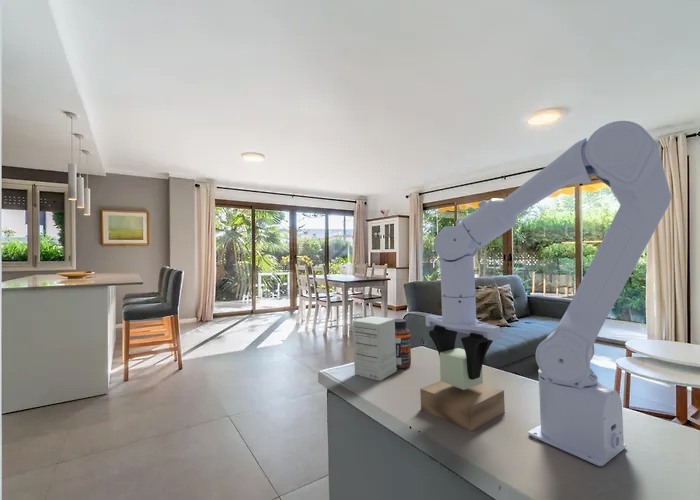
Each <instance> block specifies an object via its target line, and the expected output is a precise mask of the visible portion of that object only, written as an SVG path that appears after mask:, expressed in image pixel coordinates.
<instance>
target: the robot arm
mask: <svg viewBox="0 0 700 500" xmlns="http://www.w3.org/2000/svg"><path fill="white" fill-rule="evenodd" d="M592 175H594V177H596V178H597V179H598V180H600V181H601V182H602V183H603V184H605V185H606V186H608V187H609V188H610V191H611V193H612V194H613V196H614V197H615V198H616V200H617V202H618V204H619V206H618V207H619V208H617V209H618V210H617V212H616V213H615V215H614V216H613V220H612V221H611V223H610V225H609V227H608V230H607V231H606V233H605V235H604V236H603V239H602V241H601V243H600V245H599V247H598V248H597V250H596V253H595V254H594V256H593V258H592V260H591V262H590V264H589V266H588V268H587V270H586V272H585V274H584V275H583V277H582V280H581V282H580V283H579V285H578V287H577V289H576V291H575V293H574V295H573V298H572V299H571V301H570V303H569V304H568V307H567V309H566V310H565V313H564V314H563V316H562V318H561V319H560V321H559V322H558V325H557V326H556V327H555V328H553V329H552V330H551V331H550V332H549V333H548V335H547V337H546V338H545V339H544V340H542V341H541V342H540V343H539V344H538V345H537V347H536V351H535V361H536V364H537V366H538V370H537V372H538V392H539V417H540V418H539V419H540V424H539V425H537V426H536V427H534V428H531V429H530V430H528V431H527V434H528V435H529V436H530V437H532V438H534V439H537V440H539V441H542V442H543V443H546V444H548V445H550V446H552V447H555V448H557V449H559V450H561V451H564V452H566V453H568V454H571V455H573V456H575V457H577V458H579V459H581V460H585V461H586V462H589V463H591V464H594V465H596V466H598V467H603V466H604V465H606V464H607V463H608V462H610V461H611V460H612V459H613V458H614V457H616V456H617V455H618V454H620V452H622V451H623V450H625V449H626V448H627V444H626V443H625V441H624V424H623V423H624V422H623V421H624V419H623V405H622V399H621V396H620V394H619V392H618V391H617V390H615V389H612V388H609V387H607V386H605V385H603V384H602V383H600V382H599V381H598V376H597V375H596V374H595V372H594V371H593V370H592V369H591V361H592V360H593V357H594V355H595V342H596V340H597V338H598V336H599V334H600V332H601V330H602V328H603V325H604V323H605V322H606V320H607V318H608V316H610V315H609V314H610V313H611V311H612V309H613V307H614V305H615V304H616V302H617V300H618V298H619V296H620V295H621V293H622V291H623V290H624V288H625V285H626V284H627V282H628V280H629V279H630V276H631V275H632V273H633V271H634V269H635V268H636V265H638V264H637V263H638V262H639V261H640V258H641V257H642V255H643V253H644V251H645V249H646V248H647V245H648V244H649V242H650V240H651V238H652V236H653V235H654V233H655V231H656V229H657V228H658V226H659V224H660V222H661V220H662V219H663V216H664V215H665V213H666V211H667V209H668V208H669V206H670V203H671V199H672V195H671V191H670V186H669V183H668V179H667V176H666V173H665V169H664V165H663V161H662V158H661V151H660V146H659V143H658V141H656V140H655V139H654V138H653V136H651V134H649V132H648V131H647V130H646V129H645V128H644V127H643V126H642V125H640V124H639V123H637V122H634V121H630V120H617V121H612V122H609V123H607V124H604V125H602V126H600V127H599V128H597V129H596V130H595V131H594V132H593V133H592V134H591V135H590V137H589V138H587V137H584V138H583V139H580V140H578V141H577V142H575V143H574V144H573V145H572V146H570V147H569V148H568V149H567V150H565V151H564V152H563V153H562V154H560V155H559V156H557V158H555V159H554V160H553V161H551V162H550V163H549V164H548V165H546V166H545V167H544V168H543V169H541V170H540V171H539V172H537V173H536V174H534V175H533V176H532V177H531V178H529V179H528V180H527V181H526V182H524V183H522V184H521V186H519V187H517V188H516V189H515V190H514V191H512V192H511V193H510V194H509V195H507V196H506V197H505V198H502V199H501V198H491V199H489V200H488V201H487V200H484V199H483V200H481V201H480V202H479V203H478V204H477V206H478V208H477V209H474V211H473V212H471V213H469V214H468V215H467V216H465V217H464V218H458V219H457V220H456V221H455V222H454V223H455V226H453V225H448V226H447V225H446V226H443V227H442V229H441V230H439V232H438V233H437V234H436V236H435V238H434V242H433V244H434V245H433V247H434V251H435V253H436V254H437V256H439V260H440V261H439V263H440V291H441V292H440V293H441V297H440V298H441V315H435V314H430V315H425V317H424V318H425V319H424V320H425V326H426V327H429V328H430V327H433V330H428V331H429V332H428V336H429V337H430V338H431V340H432V342H433V343H434V345H435V348H436V350H437V352H438V356H439V357H440V352H444V351H448V350H452V349H456V348H455V347H456V339H457V335H458V333H462V334H467V335H469V336H467V335H466V336H463V337H461V338H460V339H461V343H462V346H463V349H464V350H465V353H466V358H467V371H468V376H469V379H471V380H474V379H477V378H479V377H480V373H481V369H482V370H483V364H484V360H485V357H486V355H487V353H488V351H489V349H490V347H491V345H492V343H493V342H494V341H496V340H499V339H501V326H498V325H493V324H490V323H487V322H484V321H480V320H479V319H478V318H477V303H476V300H477V299H476V282H475V281H476V280H475V278H476V277H475V263H474V262H475V261H474V260H475V259H474V256H476V255H477V253H478V251H479V249H480V248H483V247H484V246H486V245H487V244H489V243H490V242H492V241H494V240H495V239H496V238H498V237H500V236H502V235H503V234H505V233H506V232H508V231H510V230H511V229H512V228H514V227H515V226H516V225H515V224H516V221H517V216H518V215H519V214H521V213H523V212H525V211H526V210H528V209H529V208H531V207H533V206H534V205H536V204H538V203H540V202H541V201H542V200H544V199H545V198H547V197H549V196H552V194H553V193H556V192H557V191H559V190H560V189H563V188H564V187H566V186H567V185H578V184H590V183H592V178H591V177H590V176H592Z"/></svg>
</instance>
